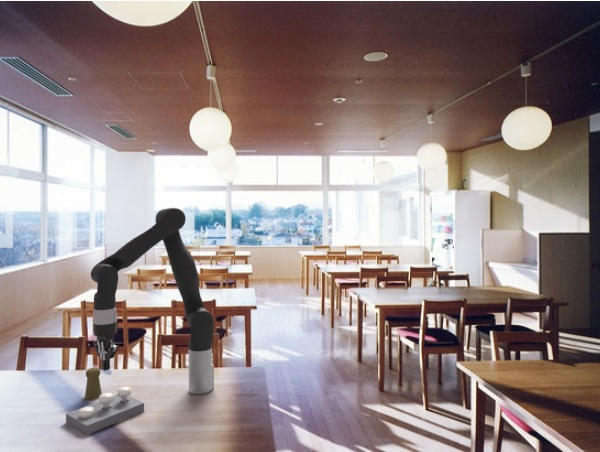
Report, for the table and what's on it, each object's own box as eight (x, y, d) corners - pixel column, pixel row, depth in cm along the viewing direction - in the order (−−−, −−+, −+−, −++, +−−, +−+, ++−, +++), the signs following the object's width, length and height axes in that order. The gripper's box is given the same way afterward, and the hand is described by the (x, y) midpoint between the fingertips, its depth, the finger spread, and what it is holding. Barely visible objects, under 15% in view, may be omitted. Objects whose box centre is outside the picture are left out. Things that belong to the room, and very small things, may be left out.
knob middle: (108, 405, 155) (108, 391, 155) (115, 408, 152) (115, 394, 152) (96, 409, 151) (96, 396, 151) (103, 413, 149) (103, 399, 149)
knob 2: (126, 398, 161) (126, 385, 161) (133, 401, 158) (133, 388, 158) (115, 402, 157) (115, 389, 157) (122, 405, 155) (122, 392, 154)
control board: (122, 400, 165) (122, 393, 165) (144, 410, 156) (144, 402, 156) (66, 422, 148) (65, 413, 148) (86, 434, 139) (86, 425, 139)
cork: (95, 400, 165) (94, 371, 165) (81, 398, 166) (80, 370, 166) (105, 393, 171) (104, 366, 171) (91, 392, 172) (91, 365, 172)
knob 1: (89, 419, 149) (89, 405, 149) (96, 423, 147) (96, 409, 147) (76, 424, 146) (76, 410, 146) (83, 428, 143) (83, 413, 143)
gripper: (125, 321, 150) (126, 370, 151) (105, 316, 158) (105, 362, 158) (105, 326, 144) (105, 377, 145) (84, 320, 152) (85, 368, 152)
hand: (105, 369), depth 151 cm, fingers closed
